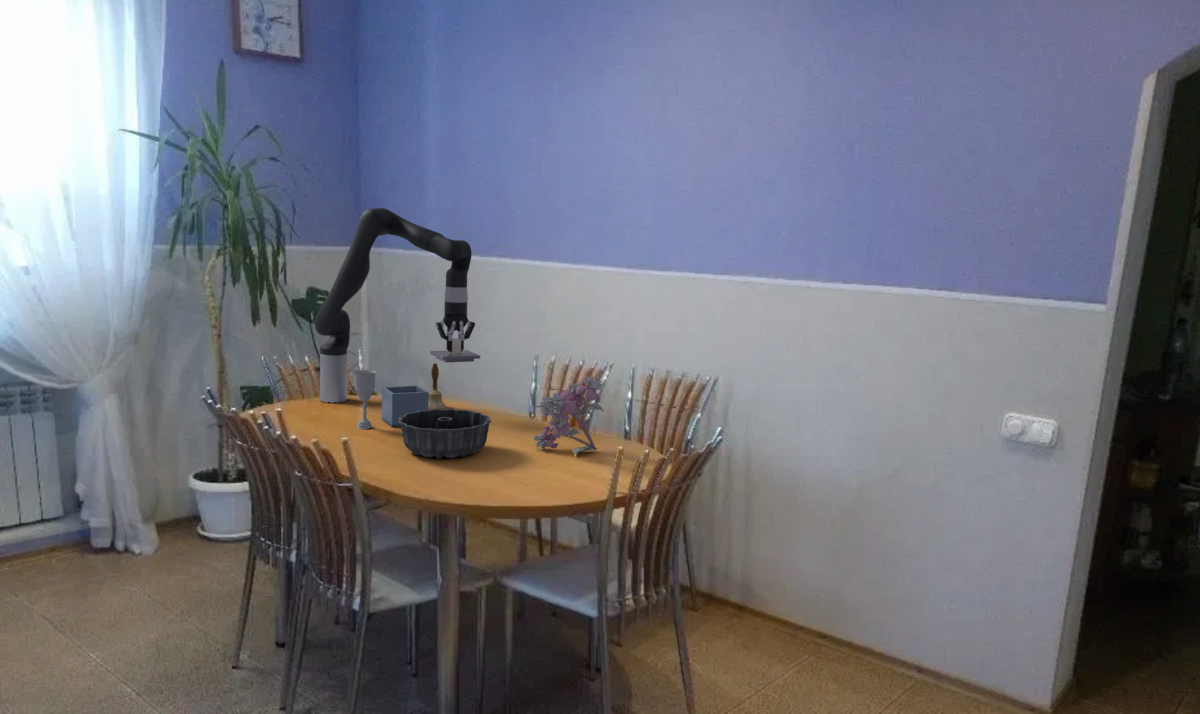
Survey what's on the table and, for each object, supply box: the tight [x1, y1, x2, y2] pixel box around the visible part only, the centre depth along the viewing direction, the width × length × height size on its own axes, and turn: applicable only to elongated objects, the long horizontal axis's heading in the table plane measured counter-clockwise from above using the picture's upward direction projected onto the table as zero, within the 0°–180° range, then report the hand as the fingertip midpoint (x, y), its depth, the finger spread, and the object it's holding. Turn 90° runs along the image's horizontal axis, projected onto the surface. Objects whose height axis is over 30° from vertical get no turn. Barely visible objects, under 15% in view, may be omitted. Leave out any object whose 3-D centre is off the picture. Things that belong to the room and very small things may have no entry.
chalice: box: [352, 369, 377, 430], centre depth 272 cm, size 7×7×18 cm
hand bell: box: [428, 363, 447, 410], centre depth 307 cm, size 8×8×16 cm
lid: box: [429, 337, 481, 363], centre depth 288 cm, size 13×13×7 cm
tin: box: [381, 385, 430, 428], centre depth 282 cm, size 12×12×11 cm
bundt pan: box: [399, 408, 492, 460], centre depth 249 cm, size 26×26×10 cm
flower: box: [531, 373, 605, 456], centre depth 254 cm, size 20×22×25 cm
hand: (454, 351), depth 288 cm, fingers closed on lid, 3 cm apart
